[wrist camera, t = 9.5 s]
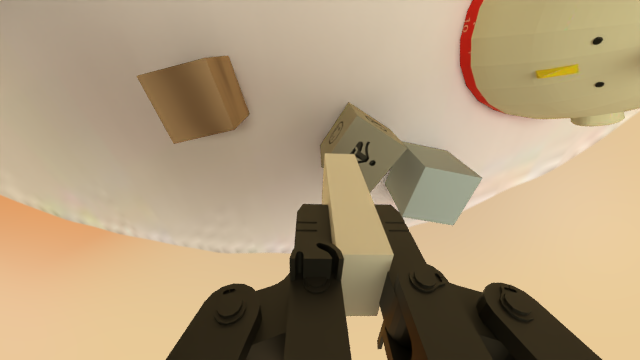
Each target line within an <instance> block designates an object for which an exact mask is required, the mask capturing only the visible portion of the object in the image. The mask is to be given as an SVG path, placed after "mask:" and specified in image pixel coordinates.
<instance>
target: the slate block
mask: <svg viewBox="0 0 640 360" xmlns="http://www.w3.org/2000/svg"><path fill="white" fill-rule="evenodd" d="M402 143H403V144H404V145H405V146H406V147H407V149H406V151H405V152H404V153H403V154H402V155H401V156H400V158H399V159H398V160H397V161H396V162H395V164H394V165H393V166H392V167H391V170H390V172H389V175H388V177H387V180H386V182H385V185H386V187H387V189H388V191H389V192H390V194H391V196H392V198H393V200H394V202H395V204H396V206H397V208H398V210H399V212H400V214H401V216H402V217H406V218H412V219H418V220H424V221H430V222H436V223H442V224H448V225H454V224H455V222H456V221H457V219H458V217H459V216H460V214H461V212H462V211H463V209H464V207H465V206H466V204H467V202H468V201H469V199H470V198H471V196H472V194H473V193H474V191H475V189H476V188H477V186H478V184H479V183H480V181H481V180H482V177H480V176H479V175H478V174H476V173H475V172H474V171H473V170H471V169H470V168H469V167H467V166H466V165H465V164H463V163H462V162H461V161H460V160H458V159H457V158H456V157H454V156H453V155H452V154H451V153H449V152H448V151H446V150H441V149H436V148H431V147H426V146H421V145H417V144H412V143H407V142H402Z"/></svg>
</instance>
